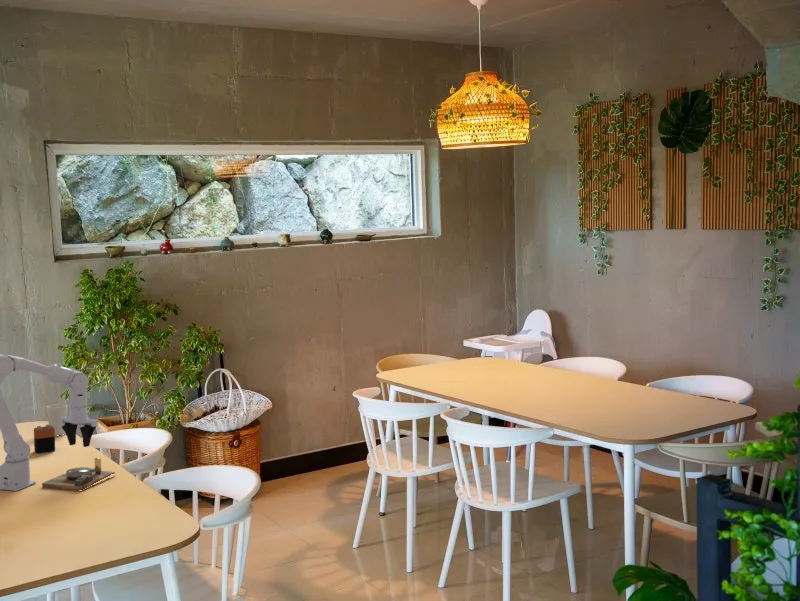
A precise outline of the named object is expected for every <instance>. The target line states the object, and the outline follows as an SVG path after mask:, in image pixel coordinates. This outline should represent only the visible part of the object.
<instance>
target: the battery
mask: <svg viewBox="0 0 800 601" xmlns="http://www.w3.org/2000/svg"><path fill="white" fill-rule="evenodd" d="M33 442H34V443H33V445H34V446H33V447H34V448H33V449H34V452H35V453H36V454H42V453H50V452H51V453H52V452H55V451H56V437H55V429H54V427H52V426H51V424H49V423H48V424H45V426H41V425H37V426H36V427H33Z"/></svg>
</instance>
